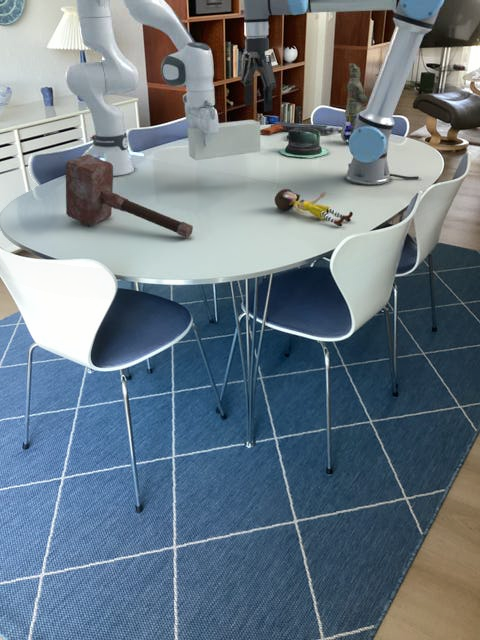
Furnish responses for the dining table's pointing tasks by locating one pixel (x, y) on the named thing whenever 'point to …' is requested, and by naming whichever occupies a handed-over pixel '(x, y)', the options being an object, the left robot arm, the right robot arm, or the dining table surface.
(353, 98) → the statue
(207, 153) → the box
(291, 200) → the figurine
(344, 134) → the toy
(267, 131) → the submachine gun
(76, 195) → the sledgehammer
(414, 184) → the dining table surface
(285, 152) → the green hat
